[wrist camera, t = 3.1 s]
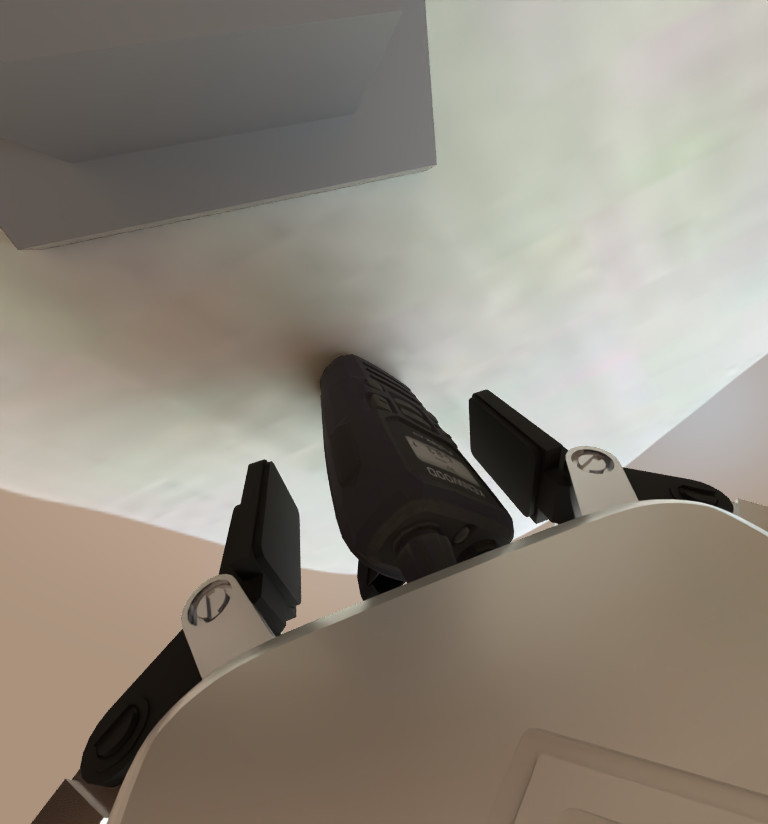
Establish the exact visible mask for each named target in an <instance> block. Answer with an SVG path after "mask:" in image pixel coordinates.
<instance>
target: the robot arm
mask: <svg viewBox="0 0 768 824" xmlns="http://www.w3.org/2000/svg"><path fill="white" fill-rule="evenodd" d="M469 420H470V446H471V452H472V454H473V456H474V457H475V459H476V460H477V461H478V462H479V463H480V464H481V466H482V467H483V468H484V469H485V470H486V472H487V473H488V474H489V475H490V476H491V477H492V479H493V480H494V481H495V482H496V483H497V484H498V486H499V487H500V488H501V489H502V490H503V491H504V493H505V494H506V495H507V496H508V497H509V498H510V500H511V501H512V502H513V503H514V504H515V506H516V507H517V508H518V509H519V510H520V511H521V513H522V514H523V515H524V516H526V517H529V516H530V518H531V519H532V520H533V521H534V522H535V523H536V524H537V523H540V522H542V521H545V520H548V519H549V520H550V521H551V522H553V523H554V527H551V528H548V529H546V530H543V531H541V532H538V533H536V534H533V535H531V536H528V537H525V538H522V539H520V540H517V541H515V542H512V543H510V544H507V545H504V546H502V547H499V548H497V549H494V550H491V551H489V552H486V553H484V554H481V555H479V556H476V557H474V558H471V559H468V560H466V561H463V562H461V563H458V564H456V565H453V566H451V567H448V568H445V569H443V570H440V571H438V572H435V573H433V574H430V575H428V576H425V577H423V578H420V579H418V580H415V581H412V582H410V583H407V584H405V585H402V586H400V587H397V588H395V589H392V590H390V591H387V592H385V593H382V594H380V595H377V596H375V597H372V598H370V599H367V600H365V601H362V602H360V603H357V604H355V605H352V606H350V607H347V608H345V609H342V610H340V611H337V612H335V613H332V614H330V615H327V616H325V617H322V618H320V619H318V620H315V621H313V622H311V623H308V624H306V625H303V626H301V627H298V628H296V629H294V630H291V631H289V632H286V633H284V634H282V631H283V629H284V628H285V626H286V621H288V620H290V619H292V618H295V617H296V605H299V604H300V603H301V570H300V520H299V512H298V509H297V507H296V505H295V503H294V501H293V499H292V497H291V495H290V493H289V491H288V490H287V488H286V486H285V484H284V482H283V480H282V478H281V476H280V474H279V473H278V471H277V469H276V467H275V465H274V463H273V462H272V461H271V462H267V461H266V460H265V459H264V460H261V461H258V462H255V463H252V464H249V466H248V471H247V475H246V480H245V485H244V490H243V495H242V500H241V504H240V505H237V506H236V507H235V508H234V510H233V514H232V519H231V523H230V527H229V532H228V536H227V541H226V545H225V549H224V554H223V559H222V562H221V567H220V571H219V575H217V576H215V577H213V578H210V579H208V580H207V581H206V582H204V583H203V584H201V585H200V586H199V587H198V588H197V589H196V590H195V591H194V592H193V594H192V595H191V596H190V598H189V599H188V600H187V602H186V604H185V606H184V608H183V611H182V615H181V624H182V628H183V629H182V630H181V631H180V632H179V633H178V634H177V636H176V637H175V638H174V639H173V640H172V641H171V642H170V643H169V644H168V645H167V647H166V648H165V649H164V650H163V651H162V652H161V653H160V654H159V655H158V656H157V658H156V659H155V660H154V661H153V662H152V663H151V664H150V665H149V666H148V667H147V669H146V670H145V671H144V672H143V673H142V674H141V675H140V676H139V677H138V679H137V680H136V681H135V682H134V683H133V684H132V685H131V686H130V687H129V688H128V689H127V691H126V692H125V693H124V694H123V695H122V696H121V697H120V698H119V699H118V701H117V702H116V703H115V704H114V705H113V706H112V707H111V708H110V710H108V712H107V713H106V714H105V716H104V717H103V718H102V720H101V721H100V722H99V723H98V725H97V726H96V728H95V730H94V731H93V733H92V735H91V736H90V738H89V740H88V743H87V745H86V748H85V750H84V752H83V756H82V762H81V766H80V769H79V771H78V772H77V773H76V775H75V776H74V777H73V779H72V780H70V779H65V780H64V781H63V782H62V784H61V785H60V786H59V788H58V789H57V790H56V792H55V793H54V794H53V795H52V797H51V798H50V799H49V801H48V802H47V803H46V805H45V806H44V807H43V809H42V810H41V811H40V813H39V814H38V815H37V816H36V818H35V819H34V821H32V823H31V824H768V507H767V506H763V505H760V504H756V503H752V502H748V501H745V500H741V499H737V500H736V501H735V502H731V501H730V499H729V498H728V497H727V496H725V495H724V494H723V493H722V492H720V491H719V490H717V489H715V488H713V487H711V486H709V485H707V484H704V483H702V482H698V481H694V480H690V479H685V478H679V477H673V476H668V475H662V474H657V473H651V472H646V471H640V470H635V469H628V468H623V467H622V466H621V464H620V462H619V461H618V459H617V458H616V457H615V456H613V455H612V454H611V453H609V452H607V451H605V450H603V449H599V448H596V447H590V446H579V447H575V448H572V449H570V450H569V451H568V450H567V449H566V448H564V447H563V445H562V444H560V443H559V442H557V441H556V440H555V439H553V438H552V437H551V436H549V435H548V434H547V433H545V432H544V431H543V430H541V429H540V428H539V427H537V426H536V425H535V424H533V423H532V422H531V421H529V420H528V419H527V418H525V417H524V416H522V415H521V414H520V413H518V412H517V411H516V410H514V409H513V408H512V407H510V406H509V405H508V404H506V403H505V402H504V401H502V400H501V399H500V398H498V397H497V396H496V395H494V394H493V393H492V392H490V391H489V390H483V391H480V392H477V393H474V394H473V395H472V398H470V399H469Z"/></svg>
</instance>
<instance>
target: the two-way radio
mask: <svg viewBox="0 0 768 824" xmlns="http://www.w3.org/2000/svg"><path fill="white" fill-rule="evenodd" d="M320 387H321V409H322V424H323V440H324V452H325V460H326V467H327V474H328V480H329V486H330V491H331V496H332V501H333V505H334V510H335V515H336V519H337V522H338V526H339V529H340V532H341V535H342V538H343V540H344V541H345V543H346V544H347V546H348V548H349V549H350V551H351V552H352V553H353V554H354V555H355V556H356V557H357V558H358V559H359V561H358V574H357V578H358V584H359V589H360V594H361V597H362V599H363V601H365V600H367V599H370V598H372V597H375V596H377V595H380V594H382V593H385V592H387V591H390V590H392V589H395V588H397V587H400V586H402V585H403V584H404V583H405V582H407V583H410V582H412V581H415V580H418V579H420V578H423V577H425V576H428V575H430V574H433V573H435V572H438V571H440V570H443V569H445V568H448V567H451V566H453V565H456V564H458V563H461V562H463V561H466V560H468V559H471V558H474V557H476V556H479V555H481V554H484V553H486V552H489V551H491V550H494V549H497V548H499V547H502V546H504V545H507V544H510V542H511V541H512V539H513V537H514V528H513V521H512V518H511V516H510V515H509V513H508V511H507V510H506V509H505V508H504V506H503V505H502V504H501V502H500V501H499V500H498V498H497V497H496V496H495V495H494V493H493V492H492V491H491V490H490V488H489V487H488V486H487V485H486V483H485V482H484V481H483V480H482V479H481V477H480V476H479V475H478V474H477V472H476V471H475V470H474V469H473V467H472V466H471V465H470V464H469V462H468V461H467V460H466V459H465V457H464V456H463V455H462V454H461V452H460V451H459V450H458V449H457V448H458V447H457V445H456V444H455V443H454V442H453V440H452V439H451V438H452V437H451V436H450V435H448V434H447V433H445V432H444V431H443V430H442V429H441V428H440V426H439V425H438V424H437V423H438V421H437V419H436V418H435V417H434V416H433V415H432V414H431V413H430V412H428V411H427V410H426V409H425V408H424V407H423V405H422V403H421V402H420V401H419V400H418V399H417V398H416V396H415V395H414V394H413V393H412V392H411V390H410V389H409V388H408V387H407V386H406V385H404V384H403V383H401V382H400V381H398V380H397V379H395V378H394V377H392V376H391V375H389V374H388V373H386V372H385V371H383V370H381V369H380V368H378V367H376V366H375V365H373V364H371V363H369V362H367V361H365V360H364V359H361V358H359V357H357V356H355V355H346V356H341V357H339V358H337V359H335V360H334V361H333V362H332V363H331V364H330V365H329V366H328V367H327V368H326V369H325V371H324V373H323V376H322V378H321V380H320Z"/></svg>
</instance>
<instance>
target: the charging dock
mask: <svg viewBox="0 0 768 824" xmlns="http://www.w3.org/2000/svg"><path fill="white" fill-rule="evenodd" d="M435 165H437V164H436V150H435V136H434V122H433V108H432V94H431V80H430V66H429V51H428V37H427V23H426V9H425V0H0V227H1V228H2V229H3V231H4V232H5V233H6V235H7V236H8V237H9V239H10V240H11V241H12V243H13V244H14V245H15V247H16V248H17V249H18V250H42V249H47V248H51V247H56V246H61V245H66V244H71V243H76V242H81V241H85V240H90V239H95V238H100V237H105V236H110V235H115V234H120V233H124V232H129V231H134V230H139V229H144V228H149V227H154V226H158V225H163V224H168V223H173V222H178V221H183V220H188V219H192V218H197V217H202V216H207V215H212V214H217V213H222V212H227V211H231V210H236V209H241V208H246V207H251V206H256V205H261V204H265V203H270V202H275V201H280V200H285V199H290V198H295V197H299V196H304V195H309V194H314V193H319V192H324V191H329V190H334V189H338V188H343V187H348V186H353V185H358V184H363V183H368V182H372V181H377V180H382V179H387V178H392V177H397V176H402V175H406V174H411V173H416V172H421V171H426V170H428V169H430V168H431V167H433V166H435Z"/></svg>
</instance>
